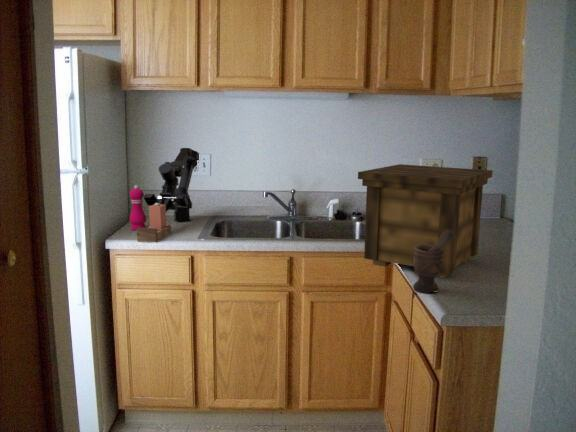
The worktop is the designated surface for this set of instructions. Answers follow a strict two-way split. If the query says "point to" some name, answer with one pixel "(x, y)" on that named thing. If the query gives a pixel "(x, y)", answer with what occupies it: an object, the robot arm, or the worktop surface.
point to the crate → (422, 212)
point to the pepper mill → (137, 209)
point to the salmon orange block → (157, 216)
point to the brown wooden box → (152, 234)
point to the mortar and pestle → (429, 263)
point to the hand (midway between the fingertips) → (161, 215)
